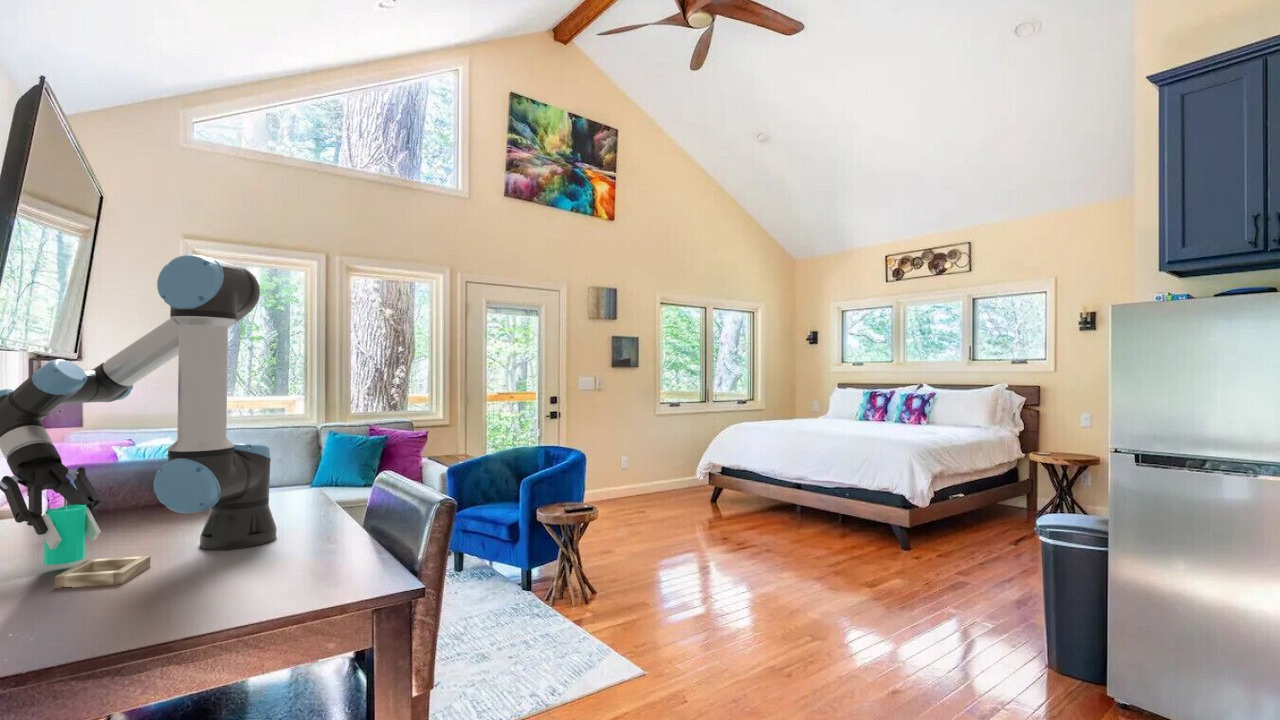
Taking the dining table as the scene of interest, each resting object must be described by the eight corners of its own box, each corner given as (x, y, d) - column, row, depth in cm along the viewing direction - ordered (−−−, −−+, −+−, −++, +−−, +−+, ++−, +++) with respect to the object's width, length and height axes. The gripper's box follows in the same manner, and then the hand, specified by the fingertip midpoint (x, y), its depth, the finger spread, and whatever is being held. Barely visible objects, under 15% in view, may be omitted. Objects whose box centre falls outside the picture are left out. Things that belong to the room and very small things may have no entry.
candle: (83, 554, 127) (85, 496, 127) (85, 560, 123) (87, 500, 123) (43, 560, 123) (45, 500, 123) (44, 566, 118) (46, 504, 119)
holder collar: (150, 566, 125) (150, 555, 125) (122, 584, 115) (122, 572, 115) (88, 570, 122) (88, 559, 122) (54, 588, 112) (54, 576, 112)
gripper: (76, 458, 137) (121, 540, 131) (-40, 471, 119) (5, 566, 113) (92, 436, 135) (138, 518, 129) (-24, 445, 118) (23, 540, 112)
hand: (76, 540), depth 121 cm, fingers closed on candle, 6 cm apart
